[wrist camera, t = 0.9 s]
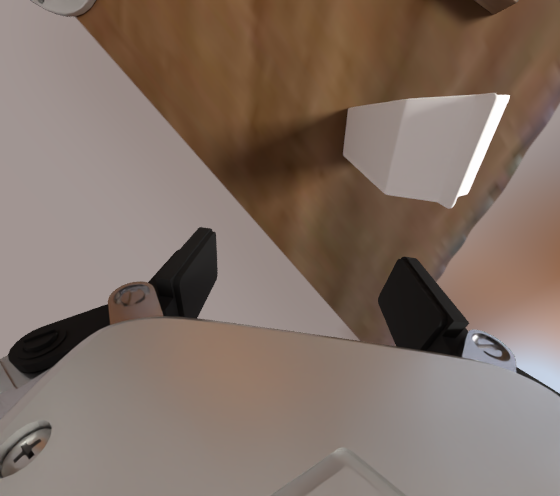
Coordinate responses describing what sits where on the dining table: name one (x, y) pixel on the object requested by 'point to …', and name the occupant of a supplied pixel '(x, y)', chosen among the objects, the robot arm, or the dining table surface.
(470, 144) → the milk
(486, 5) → the plinth
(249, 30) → the dining table surface
